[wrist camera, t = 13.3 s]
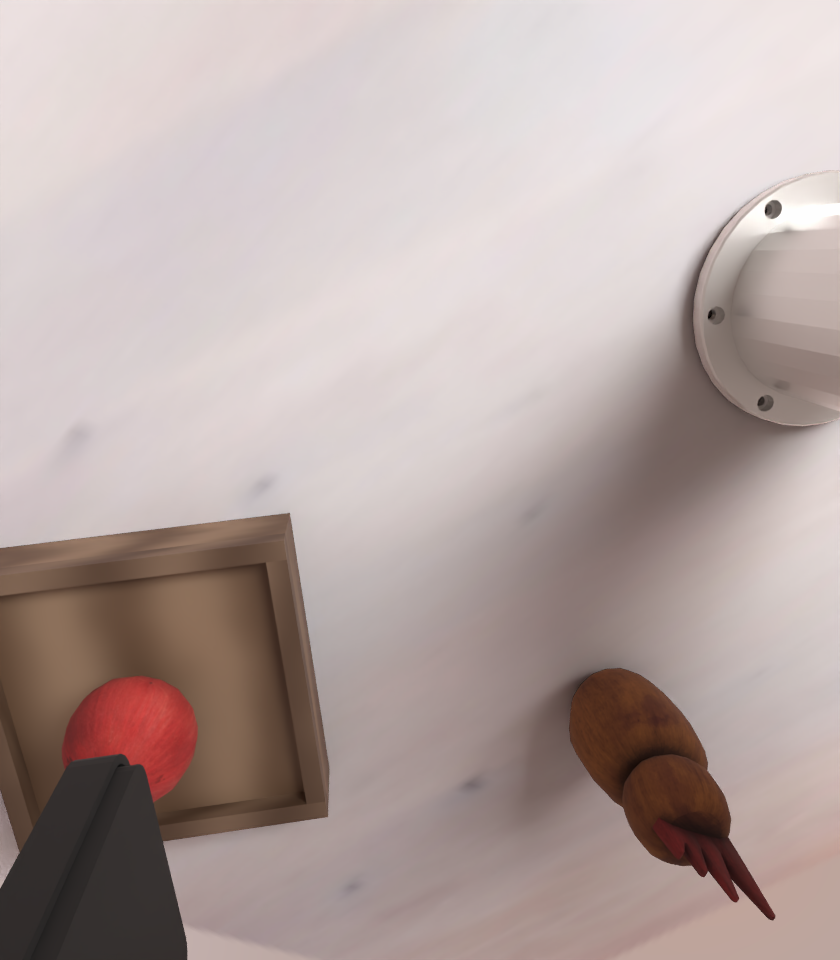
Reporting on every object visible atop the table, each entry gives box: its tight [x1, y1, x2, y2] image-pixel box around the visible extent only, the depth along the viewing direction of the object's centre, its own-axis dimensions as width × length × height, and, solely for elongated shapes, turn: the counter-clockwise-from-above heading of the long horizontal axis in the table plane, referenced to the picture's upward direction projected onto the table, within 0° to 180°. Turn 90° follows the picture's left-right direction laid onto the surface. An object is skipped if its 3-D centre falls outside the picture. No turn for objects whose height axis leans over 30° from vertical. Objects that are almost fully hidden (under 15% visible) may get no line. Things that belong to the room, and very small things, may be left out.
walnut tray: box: [0, 513, 329, 852], centre depth 39 cm, size 16×16×4 cm
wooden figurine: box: [569, 668, 775, 920], centre depth 38 cm, size 7×6×15 cm
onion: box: [62, 676, 198, 802], centre depth 35 cm, size 6×6×8 cm
